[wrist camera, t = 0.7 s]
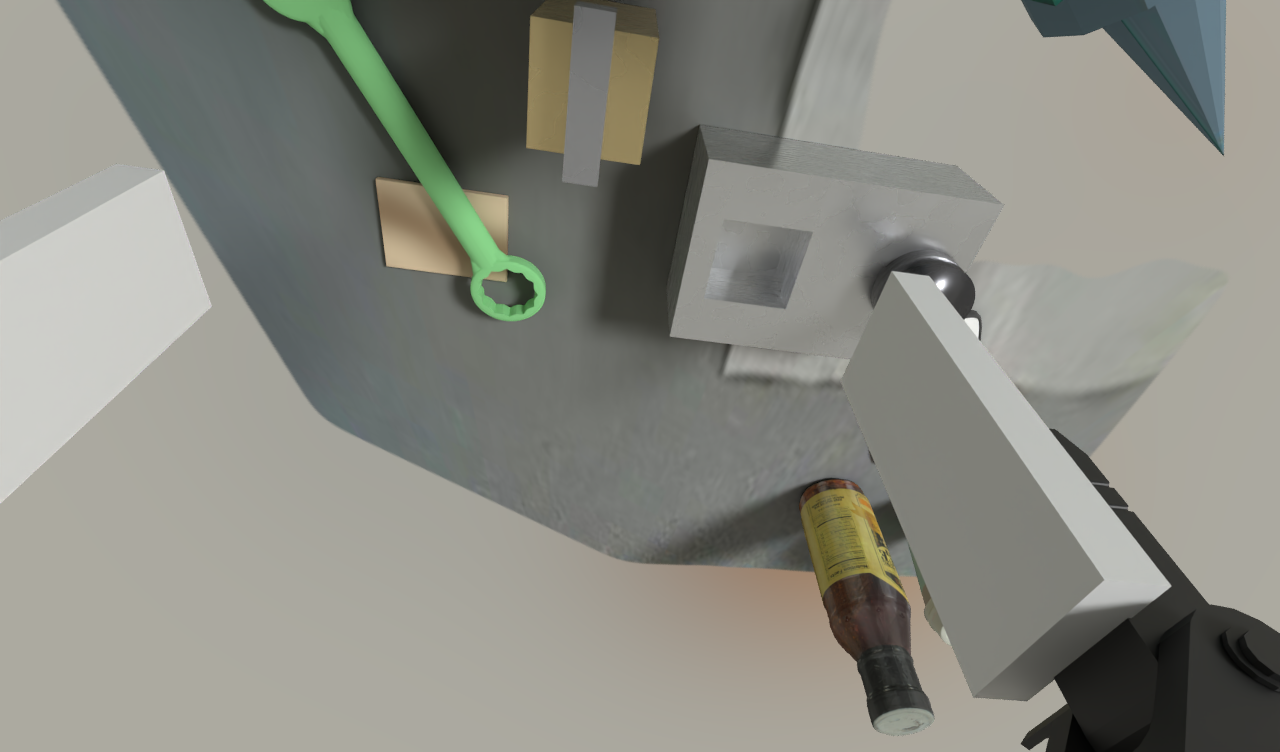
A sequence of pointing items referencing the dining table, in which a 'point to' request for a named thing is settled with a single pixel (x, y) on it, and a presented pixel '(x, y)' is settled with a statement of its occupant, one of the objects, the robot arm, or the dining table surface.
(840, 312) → the block
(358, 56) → the wrench
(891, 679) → the sauce bottle
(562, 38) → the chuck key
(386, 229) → the key mat
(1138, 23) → the power tool
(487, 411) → the dining table surface
